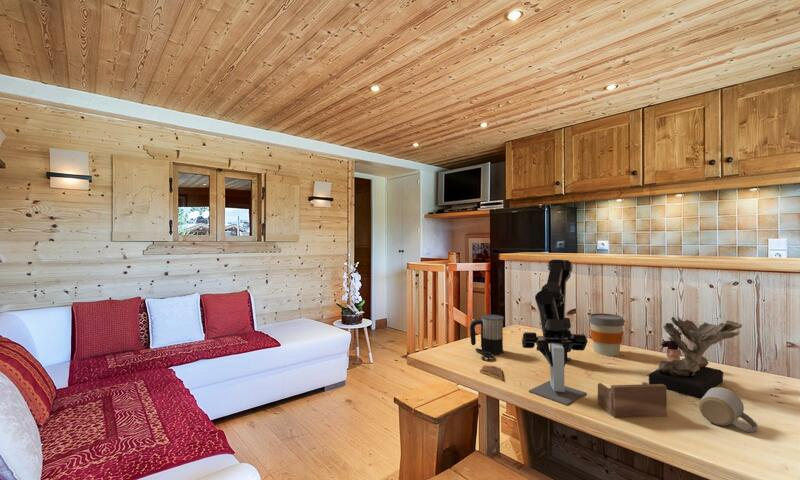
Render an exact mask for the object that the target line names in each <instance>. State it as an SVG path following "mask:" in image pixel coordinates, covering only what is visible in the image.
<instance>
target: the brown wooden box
mask: <svg viewBox="0 0 800 480" xmlns="http://www.w3.org/2000/svg"><path fill="white" fill-rule="evenodd" d="M667 391H668V390H667V386H665V385H663V384H649V382H646V381H644V382H642V384H611V385H610V387H607V386H605V385H604V384H603V383H601V382H598V383H597V405H598V406H599V407H601V409H603V411H606V412H607V413H608V414H609V415H611V416H612V417H613V418H614V419H615V418H616V419H618V418H619V419H621V418H655V417H656V418H660V417H661V418H662V417H663V418H664V417H668V416H667V415H668V411H667V409H668V408H667V407H668V406H667V405H668V404H667V401H668V397H667V395H668V393H667Z"/></svg>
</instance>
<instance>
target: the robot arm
mask: <svg viewBox="0 0 800 480" xmlns="http://www.w3.org/2000/svg"><path fill="white" fill-rule="evenodd" d="M547 266H548V267H547V270H548V271H549V272H548V276H547V280H546V281H547V282H546V284H544V285H543V286H542V287H541V290H540V291H538V292H537V293H536V294H535V296H534V301H535V303H536V306H537V309H538V311H539V319H540V325H541V331H542V335H537V332H530V331H529V332H528V331H527V332H526V331H525V332H523V334H522V337H521V338H522V339H521V343H522V344H521V345H522V348H524V349H534V347H535V345H536V351H539V352H540V353H541V354H542V355H543V357H544V358H545V360H546V361H547V363H548V364H549V367H550V366H551V367H553V361H552V357H551V353H550V343H558V344H561V345H562V346H563V348H564V368H565V367H566V362H569V361H571V360H572V358H571V357H568V353H570V352H571V351H582V352H583V351H585V349H586V346H587V344H588V342H589V341H588V338H587V336H586V335H585V334H584V333H581V334H580V333H572V331H571V330H570V329H571V327H572V324H571V318H570V317H566V301H567V299H566V296H567V295H566V294H567V282H568V281H569V279H570V278H571V274H572V272H573V271H574V270H573V268H574V267H573V263H572V261H570V260H569V259H550V260H549V261H548V264H547Z"/></svg>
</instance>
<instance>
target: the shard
mask: <svg viewBox="0 0 800 480" xmlns="http://www.w3.org/2000/svg"><path fill="white" fill-rule="evenodd" d="M502 370H503V369H502V368H501V367H499V366H496V365H486V364H485V365H481V369H479V373H480V374H483V375H487V376H489V377H490V378H493V379H496V380H498V381H503V380H504V377H503V371H502Z"/></svg>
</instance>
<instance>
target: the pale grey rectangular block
mask: <svg viewBox="0 0 800 480" xmlns="http://www.w3.org/2000/svg"><path fill="white" fill-rule="evenodd" d="M549 350H550V353H551V357H552V361H553V367H551V366H550V365H549V368H550V370H549V375H550V376H549V377H550V379H549V381H550V385H551V387H552V389H553V390H554V391H561V392H564V386H565V367H564V348H563V346H562V345H561V344H558V343H550V344H549Z"/></svg>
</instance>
